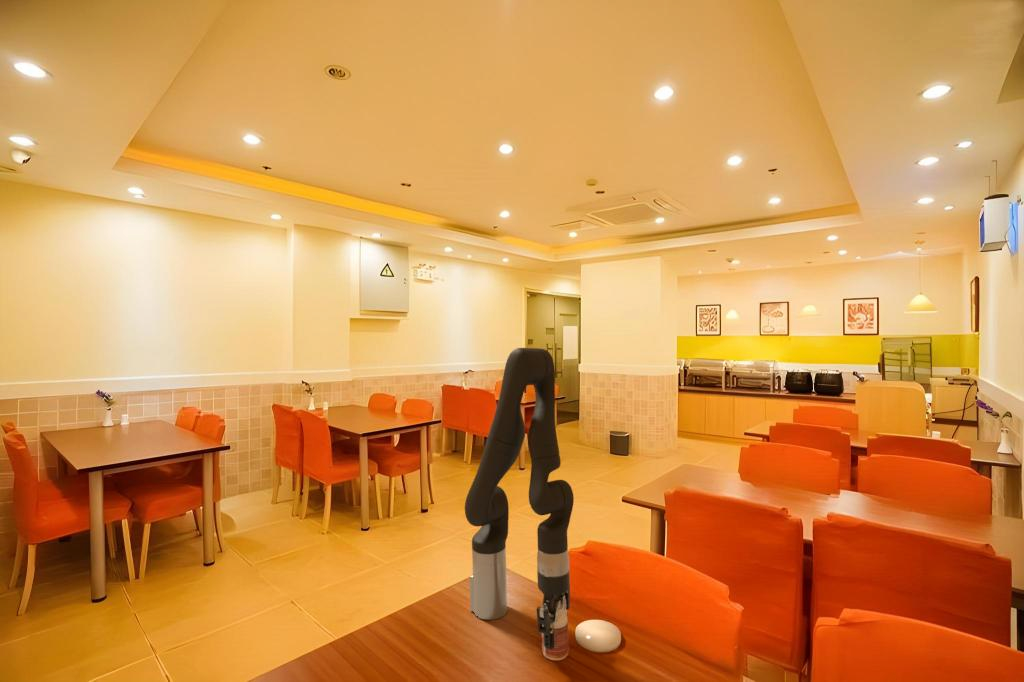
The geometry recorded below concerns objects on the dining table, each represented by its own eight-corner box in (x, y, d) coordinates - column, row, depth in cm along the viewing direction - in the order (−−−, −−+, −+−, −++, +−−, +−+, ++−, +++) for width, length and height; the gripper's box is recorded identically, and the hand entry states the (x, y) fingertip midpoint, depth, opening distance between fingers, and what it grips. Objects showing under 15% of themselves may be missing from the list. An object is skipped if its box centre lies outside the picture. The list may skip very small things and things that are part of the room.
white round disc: (568, 643, 111) (568, 638, 111) (584, 620, 121) (584, 615, 121) (613, 657, 106) (613, 652, 106) (626, 631, 116) (626, 626, 116)
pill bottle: (574, 655, 107) (572, 606, 108) (553, 665, 104) (552, 615, 104) (557, 641, 113) (556, 595, 113) (536, 650, 109) (535, 603, 109)
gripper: (551, 552, 117) (553, 619, 116) (524, 577, 104) (526, 652, 104) (579, 558, 113) (581, 627, 113) (555, 584, 101) (557, 663, 100)
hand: (555, 639), depth 108 cm, fingers closed on pill bottle, 6 cm apart
